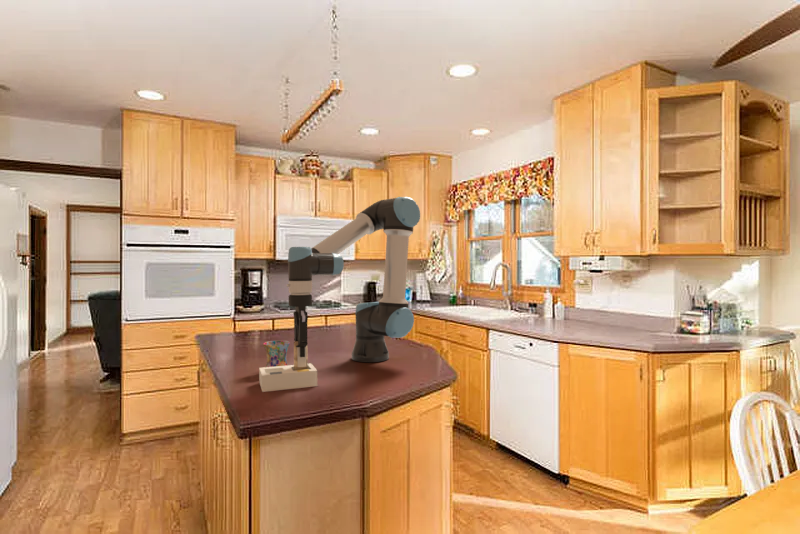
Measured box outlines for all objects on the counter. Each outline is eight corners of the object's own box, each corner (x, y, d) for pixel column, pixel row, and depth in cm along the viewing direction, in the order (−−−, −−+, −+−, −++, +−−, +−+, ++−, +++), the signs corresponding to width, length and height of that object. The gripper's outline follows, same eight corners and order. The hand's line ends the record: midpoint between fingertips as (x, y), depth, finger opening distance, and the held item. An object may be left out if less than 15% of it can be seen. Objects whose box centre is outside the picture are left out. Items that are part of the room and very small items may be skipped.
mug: (291, 373, 163) (291, 344, 163) (264, 376, 159) (264, 345, 159) (287, 366, 174) (287, 338, 174) (261, 368, 171) (261, 340, 170)
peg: (306, 373, 153) (306, 340, 153) (308, 376, 149) (308, 342, 149) (292, 374, 151) (292, 341, 151) (294, 377, 147) (294, 343, 147)
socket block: (311, 377, 157) (311, 362, 157) (317, 386, 147) (317, 369, 146) (259, 382, 151) (259, 367, 151) (262, 391, 140) (261, 375, 140)
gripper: (285, 292, 156) (285, 360, 157) (292, 296, 140) (292, 372, 141) (307, 291, 159) (307, 359, 159) (316, 295, 143) (317, 369, 144)
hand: (300, 365), depth 150 cm, fingers closed on peg, 4 cm apart
